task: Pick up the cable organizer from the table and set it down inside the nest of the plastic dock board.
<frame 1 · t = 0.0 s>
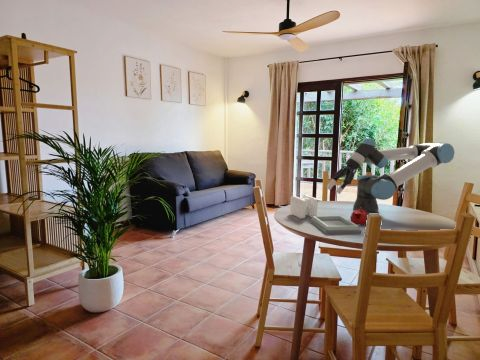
hand: (332, 190, 180), 15 cm above the table, tool tilted 35°, fingers open, 13 cm apart
pomegranate: (359, 224, 167), on the table
dock board: (334, 227, 159), on the table
cable organizer: (303, 216, 180), on the table
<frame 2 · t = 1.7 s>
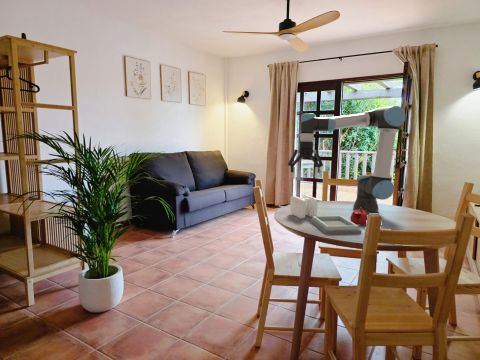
hand: (304, 178, 177), 23 cm above the table, tool pointing down, fingers open, 13 cm apart
nothing on the table moved.
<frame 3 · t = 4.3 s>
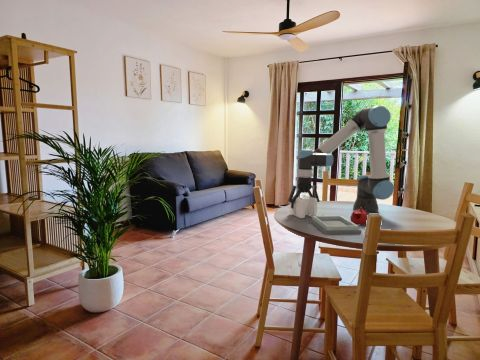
hand: (303, 213, 180), 2 cm above the table, tool pointing down, fingers closed on cable organizer, 11 cm apart
cable organizer: (302, 216, 180), on the table, touching gripper
everything else where it was.
when the fingers open (4 cm above the table, at t = 12.0 s): cable organizer moves 1 cm, resting on dock board.
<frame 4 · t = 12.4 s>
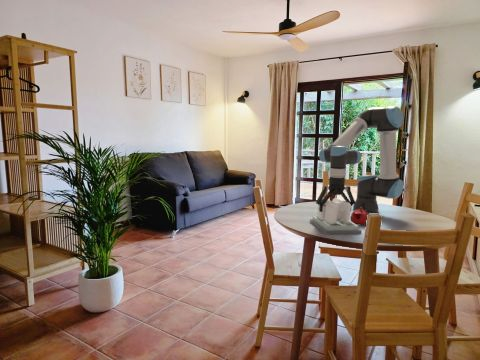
hand: (334, 217, 158), 5 cm above the table, tool pointing down, fingers open, 13 cm apart
cable organizer: (331, 222, 158), point 3 cm above the table, touching dock board, gripper
everything else where it was.
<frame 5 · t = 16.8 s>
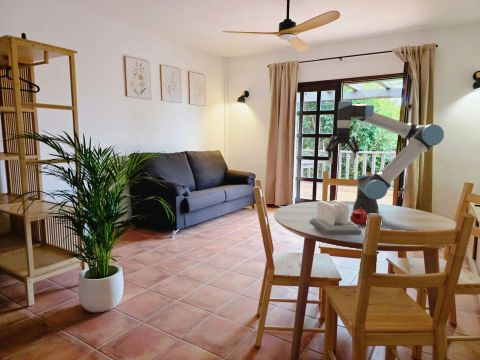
hand: (341, 163, 184), 31 cm above the table, tool pointing down, fingers open, 13 cm apart
cable organizer: (331, 224, 158), point 1 cm above the table, touching dock board
everything else where it was.
at the end: cable organizer 1.4 cm off-centre on the dock board, point 1.3 cm above the dock board's base; cable organizer tilted 0°; the gripper is holding nothing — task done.
